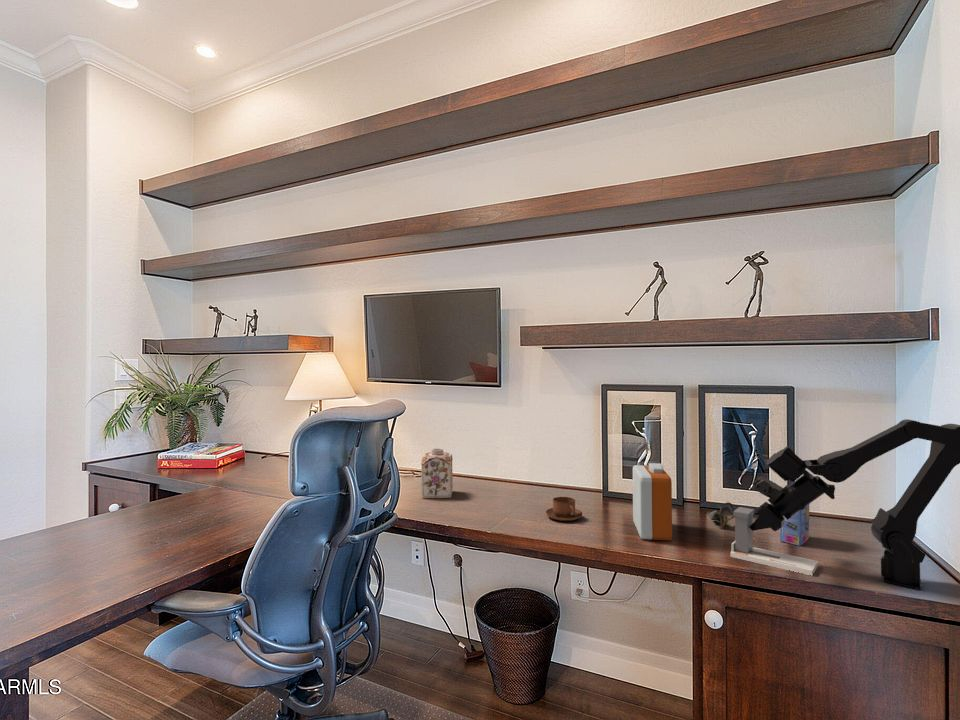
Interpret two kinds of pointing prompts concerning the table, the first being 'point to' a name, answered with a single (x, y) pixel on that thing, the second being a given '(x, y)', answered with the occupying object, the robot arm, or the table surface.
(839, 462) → the robot arm
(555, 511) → the cup and saucer
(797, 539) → the ink cartridge box
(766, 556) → the switch unit
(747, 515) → the switch knob
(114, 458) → the table surface
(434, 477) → the decorative jar
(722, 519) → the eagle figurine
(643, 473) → the alarm clock
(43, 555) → the table surface
